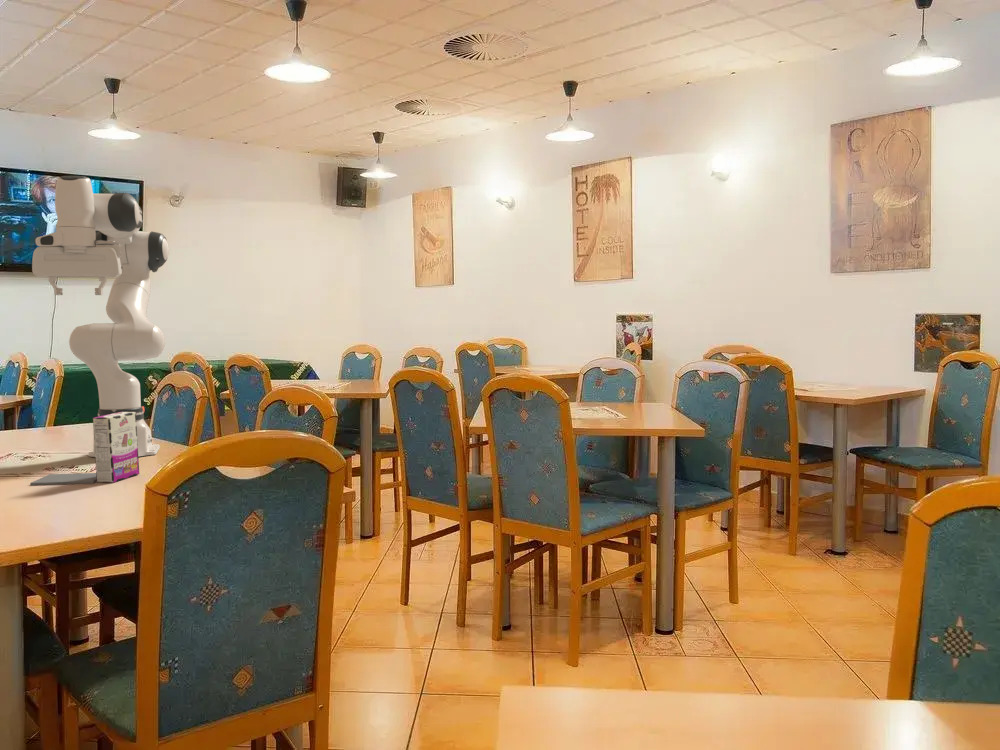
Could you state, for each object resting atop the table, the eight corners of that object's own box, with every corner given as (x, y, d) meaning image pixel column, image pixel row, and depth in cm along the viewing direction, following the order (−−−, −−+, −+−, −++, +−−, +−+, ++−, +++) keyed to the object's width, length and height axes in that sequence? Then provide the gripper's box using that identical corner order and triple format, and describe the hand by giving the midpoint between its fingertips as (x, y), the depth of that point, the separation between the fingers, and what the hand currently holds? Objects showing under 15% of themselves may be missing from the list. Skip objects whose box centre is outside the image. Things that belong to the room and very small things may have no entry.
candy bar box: (122, 474, 214) (119, 411, 213) (140, 474, 213) (137, 411, 212) (94, 482, 203) (91, 416, 202) (113, 483, 202) (110, 417, 201)
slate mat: (49, 476, 211) (49, 474, 211) (108, 474, 213) (108, 472, 213) (30, 485, 200) (30, 482, 200) (92, 483, 202) (92, 481, 202)
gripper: (123, 241, 212) (125, 295, 213) (37, 240, 208) (39, 295, 209) (117, 239, 206) (119, 294, 207) (28, 238, 202) (31, 294, 203)
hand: (78, 295), depth 208 cm, fingers open, 8 cm apart
